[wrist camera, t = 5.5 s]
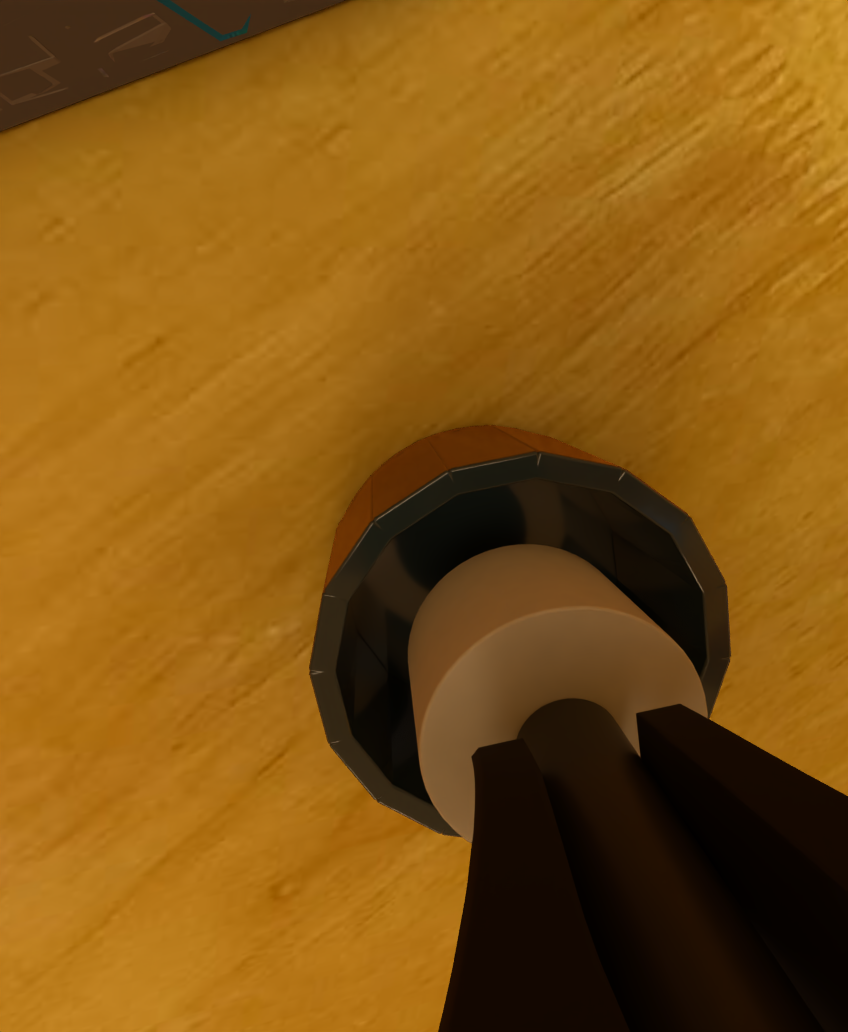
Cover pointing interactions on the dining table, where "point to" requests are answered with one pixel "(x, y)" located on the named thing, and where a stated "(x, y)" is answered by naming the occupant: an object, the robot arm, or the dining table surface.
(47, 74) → the electronic device
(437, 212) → the dining table surface
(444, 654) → the brush
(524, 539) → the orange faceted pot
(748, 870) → the robot arm
